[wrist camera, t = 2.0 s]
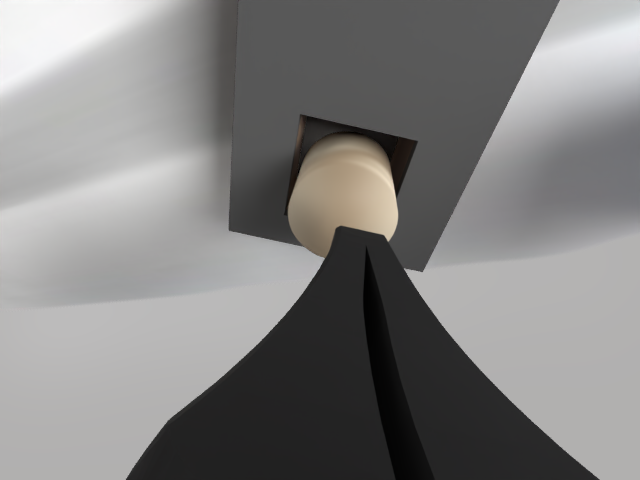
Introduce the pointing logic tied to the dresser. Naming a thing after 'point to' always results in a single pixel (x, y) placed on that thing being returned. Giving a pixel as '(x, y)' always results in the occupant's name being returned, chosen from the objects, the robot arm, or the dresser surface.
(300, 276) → the dresser surface
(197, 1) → the dresser surface
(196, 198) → the dresser surface
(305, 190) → the peg
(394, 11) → the block
